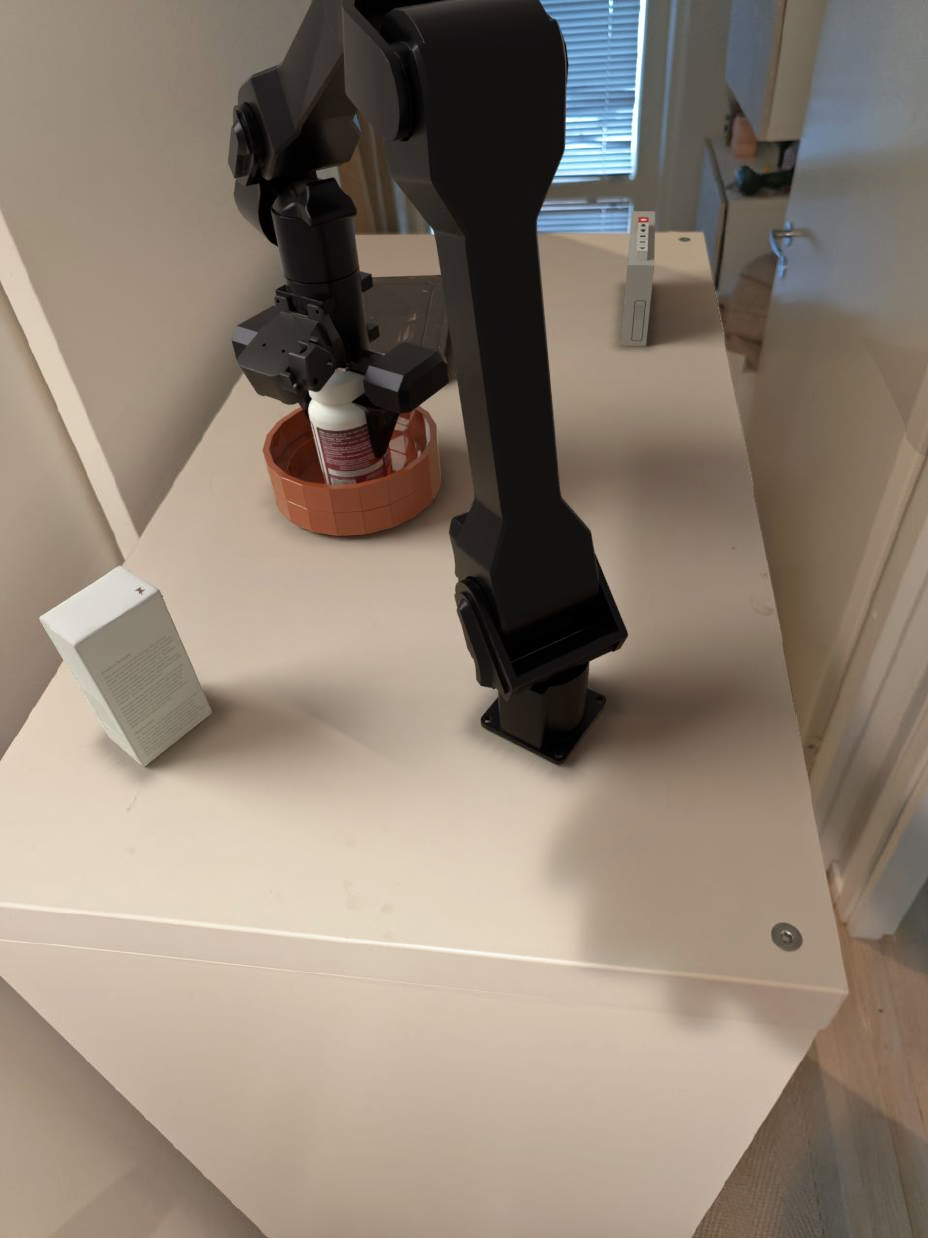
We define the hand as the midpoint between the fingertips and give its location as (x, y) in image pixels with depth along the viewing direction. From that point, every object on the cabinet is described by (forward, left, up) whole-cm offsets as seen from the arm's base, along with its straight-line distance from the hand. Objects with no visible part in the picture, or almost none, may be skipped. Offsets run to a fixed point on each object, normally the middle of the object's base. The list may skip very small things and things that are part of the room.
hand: (352, 445), depth 75 cm
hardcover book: (+25, +17, -5) cm, 31 cm away
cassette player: (+44, -6, -5) cm, 45 cm away
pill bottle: (0, 0, -4) cm, 4 cm away
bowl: (0, 0, -5) cm, 5 cm away
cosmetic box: (-29, -6, -5) cm, 30 cm away
